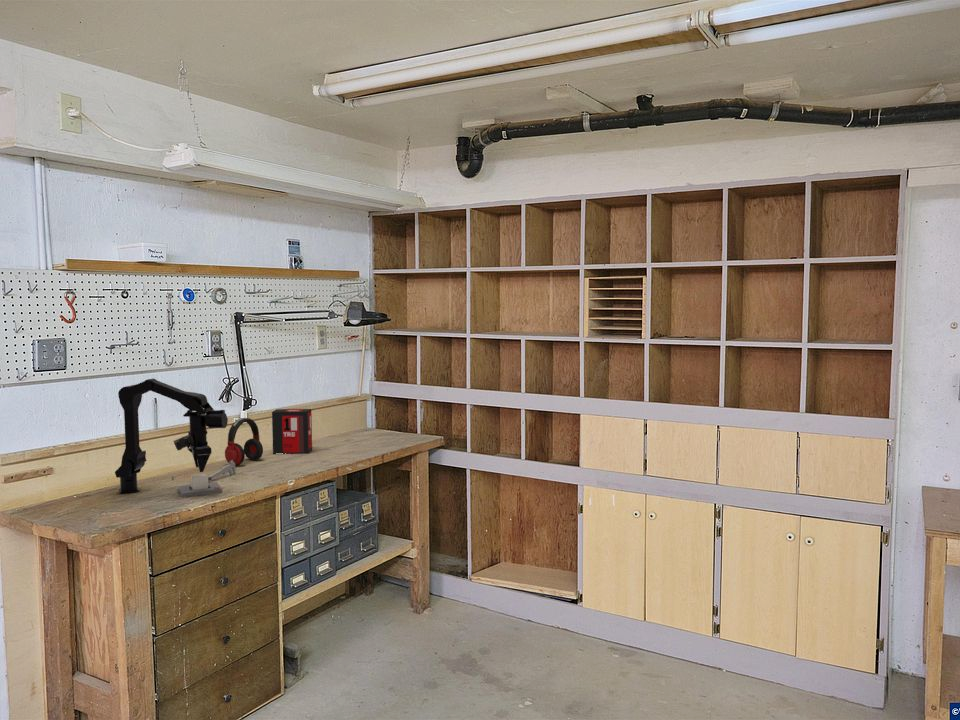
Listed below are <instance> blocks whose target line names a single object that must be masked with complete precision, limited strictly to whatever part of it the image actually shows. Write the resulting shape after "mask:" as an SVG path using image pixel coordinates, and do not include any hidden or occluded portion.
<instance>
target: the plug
mask: <svg viewBox="0 0 960 720" xmlns="http://www.w3.org/2000/svg"><path fill="white" fill-rule="evenodd" d="M208 476H209V475H207V473H203V474H202V473H201V474H192V475H190V485H191V490H199V489H207V488H208V483H209V481H208V480H210V481H212V480H213V479H212V477H208Z"/></svg>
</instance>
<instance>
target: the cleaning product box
mask: <svg viewBox="0 0 960 720" xmlns="http://www.w3.org/2000/svg"><path fill="white" fill-rule="evenodd" d="M312 420H313V419H312V408H292V409H291V408H279V409H278V408H277V409H275V410H273V411H271V423H272V429H271V430H272V454H273V455H277V454H276V453H283V454H282V455H309V454H310V453H311V452H312V451H313V431H312V430H313V427H312V426H313V422H312ZM285 453H286V454H285Z"/></svg>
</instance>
